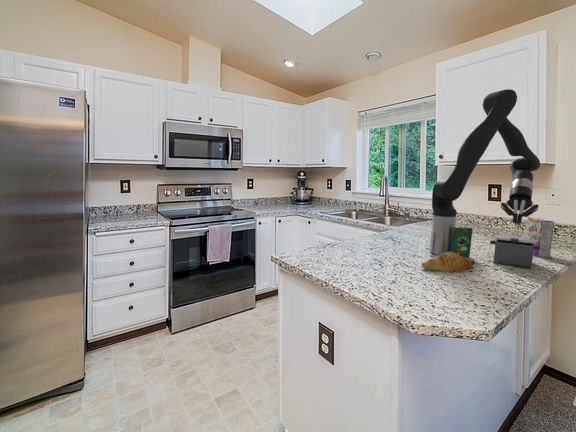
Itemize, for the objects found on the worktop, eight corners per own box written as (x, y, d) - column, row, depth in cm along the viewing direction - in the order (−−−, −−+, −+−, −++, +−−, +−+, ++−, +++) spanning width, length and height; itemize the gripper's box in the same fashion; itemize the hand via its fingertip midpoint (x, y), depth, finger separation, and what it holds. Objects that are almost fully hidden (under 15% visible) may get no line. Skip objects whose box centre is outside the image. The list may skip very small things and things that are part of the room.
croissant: (425, 281, 110) (433, 265, 106) (412, 262, 118) (419, 246, 114) (477, 277, 113) (486, 262, 109) (461, 259, 121) (469, 244, 117)
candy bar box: (522, 251, 143) (527, 216, 141) (535, 251, 142) (539, 217, 140) (537, 257, 132) (541, 220, 130) (550, 258, 131) (555, 220, 129)
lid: (494, 240, 115) (494, 237, 115) (497, 236, 130) (497, 233, 130) (535, 245, 108) (536, 241, 108) (534, 240, 122) (534, 237, 122)
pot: (487, 262, 123) (489, 240, 122) (490, 256, 132) (492, 236, 131) (538, 270, 113) (541, 246, 112) (536, 263, 123) (539, 241, 121)
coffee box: (465, 255, 133) (467, 226, 132) (470, 257, 131) (473, 227, 129) (449, 256, 132) (452, 226, 130) (454, 258, 129) (457, 228, 127)
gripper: (502, 184, 130) (497, 215, 122) (542, 185, 122) (539, 218, 114) (501, 196, 135) (496, 226, 127) (540, 198, 127) (537, 230, 119)
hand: (516, 222), depth 120 cm, fingers closed
